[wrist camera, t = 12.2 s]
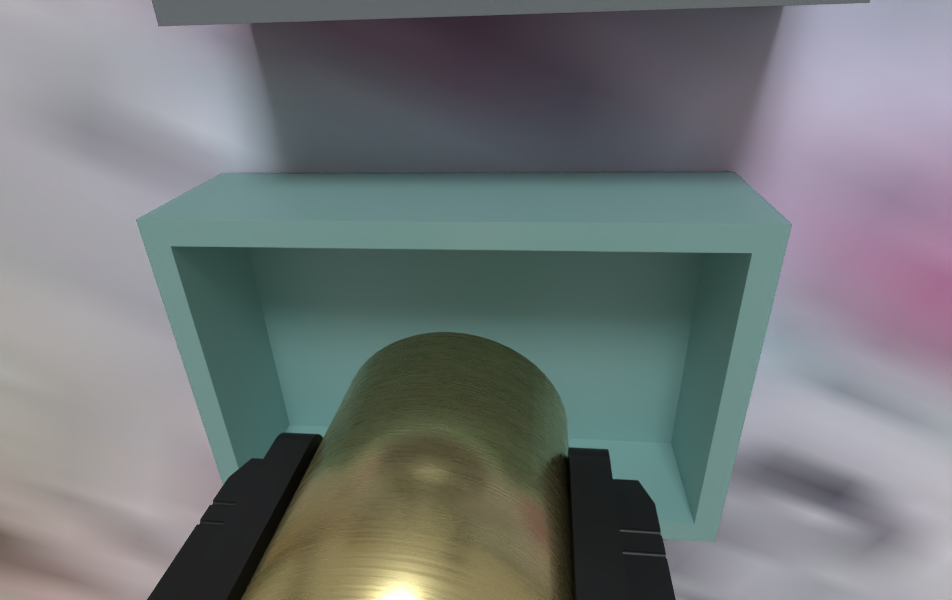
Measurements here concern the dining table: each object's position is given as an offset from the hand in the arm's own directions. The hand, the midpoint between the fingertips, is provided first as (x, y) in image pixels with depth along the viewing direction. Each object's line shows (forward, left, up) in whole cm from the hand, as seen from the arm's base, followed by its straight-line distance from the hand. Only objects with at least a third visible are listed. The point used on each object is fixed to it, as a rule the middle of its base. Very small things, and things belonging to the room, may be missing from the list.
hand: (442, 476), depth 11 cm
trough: (0, 0, -6) cm, 6 cm away
